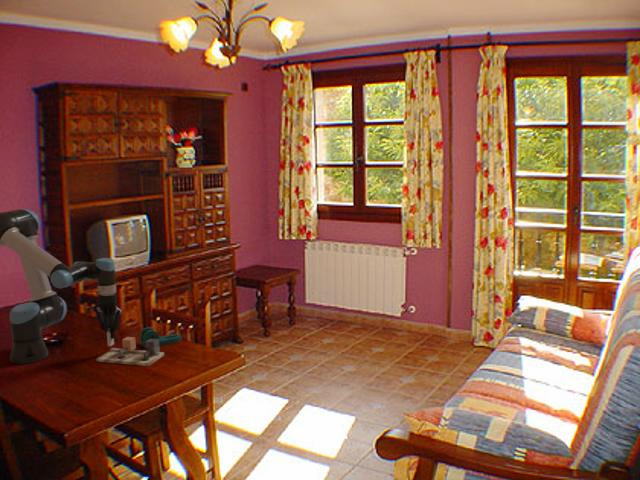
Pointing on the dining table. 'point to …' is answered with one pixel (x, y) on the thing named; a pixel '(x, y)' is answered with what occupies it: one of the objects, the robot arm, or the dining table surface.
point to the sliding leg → (128, 344)
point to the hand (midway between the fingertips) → (110, 345)
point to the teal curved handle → (163, 340)
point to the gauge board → (134, 355)
